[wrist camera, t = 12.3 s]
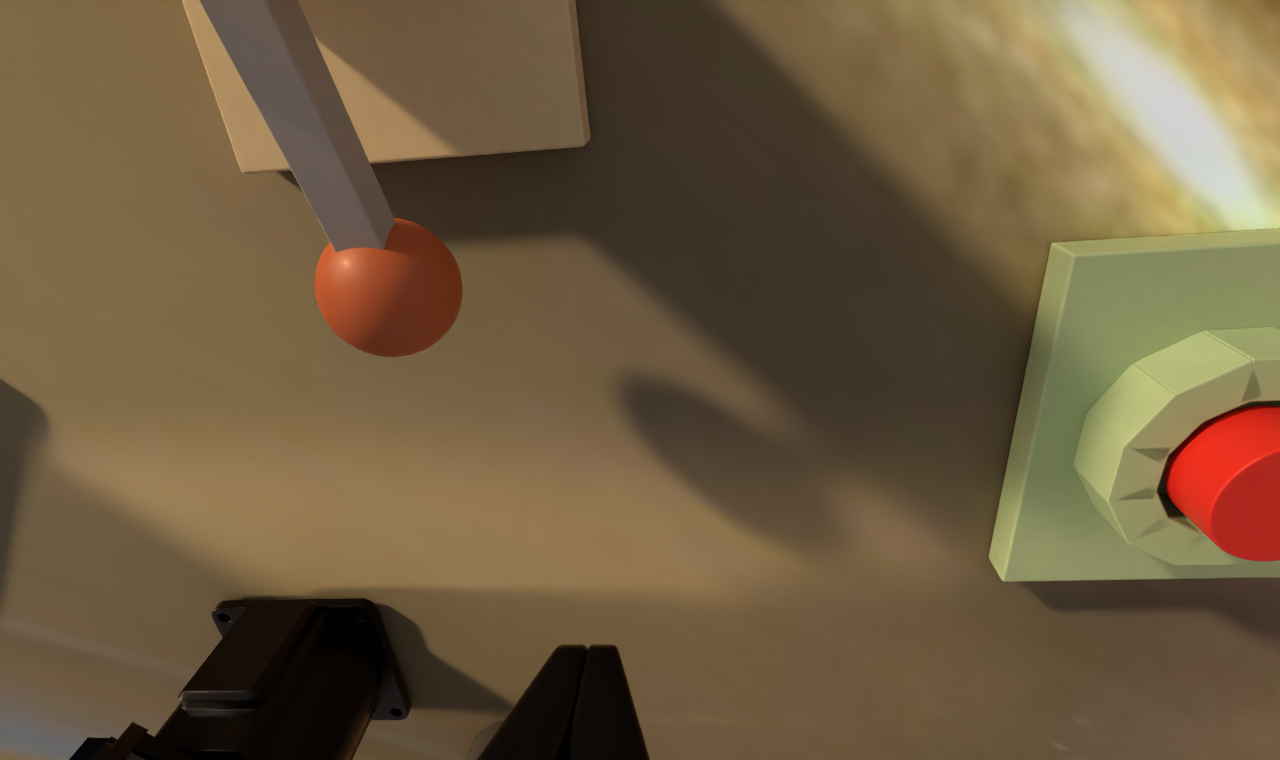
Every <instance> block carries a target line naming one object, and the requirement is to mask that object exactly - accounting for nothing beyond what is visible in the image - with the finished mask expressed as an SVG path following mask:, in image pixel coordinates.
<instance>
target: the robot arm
mask: <svg viewBox="0 0 1280 760" xmlns="http://www.w3.org/2000/svg"><path fill="white" fill-rule="evenodd" d="M212 618H213V620H214V622H215V624H216V626H217V628H218V630H219V632H220V634H221V635H222V637H223V638H222V640H221V641H220V642H219V643H218V645H217V646H216V647H215V649H214V650H213V651H212V652H211V654H210V655H209V656H208V658H207V659H206V660H205V661H204V663H203V664H202V665H201V667H200V668H199V669H198V670H197V672H196V673H195V674H194V676H193V677H192V678H191V680H190V681H189V682H188V683H187V685H186V686H185V687H184V689H183V690H182V691H181V692H180V694H179V696H178V699H179V701H180V704H179V705H178V707H177V708H176V709H175V711H174V712H173V713H172V714H171V716H170V717H169V718H168V720H167V721H166V722H165V724H164V725H163V726H162V728H161V729H160V730H159V731H158V733H157V734H156V735H155V737H154V736H152V735H150V734H148V733H146V732H147V731H148V729H146V728H144V727H142V726H140V725H138V724H136V723H134V722H132V723H131V724H130V725H129V726H128V728H127V729H126V730H125V731H124V732H123V733H122V735H121V736H120V737H119V738H118V739H115V738H113V737H110V738H90V737H88V738H87V739H86V740H85V742H84V743H83V744H82V745H81V746H80V747H79V749H78V750H77V751H76V752H75V753H74V754H73V756H72V757H71V758H70V759H69V760H352V759H353V757H354V755H355V753H356V751H357V748H358V746H359V744H360V742H361V740H362V738H363V735H364V733H365V731H366V729H367V727H368V725H369V723H370V720H403V719H405V718H407V716H408V714H409V712H410V709H411V707H412V704H411V701H410V698H409V695H408V693H407V690H406V687H405V684H404V681H403V679H402V676H401V673H400V670H399V668H398V665H397V662H396V659H395V656H394V654H393V651H392V648H391V645H390V643H389V640H388V637H387V634H386V632H385V629H384V626H383V623H382V620H381V618H380V615H379V612H378V609H377V607H376V606H375V604H374V603H373V602H371V601H369V600H367V599H361V598H359V599H294V600H229V601H222V602H220V603H219V604H218V605H217V606H216V608H215V609H214V610H213V611H212ZM476 760H650V759H649V756H648V752H647V749H646V745H645V742H644V738H643V735H642V731H641V728H640V724H639V721H638V717H637V714H636V710H635V707H634V703H633V700H632V696H631V693H630V689H629V686H628V682H627V679H626V675H625V672H624V668H623V665H622V661H621V658H620V654H619V651H618V648H617V647H616V646H615V645H591V646H589V648H587V647H586V646H585V645H569V644H564V645H560V646H558V647H557V648H556V649H555V650H554V652H553V653H552V654H551V656H550V657H549V659H548V660H547V661H546V663H545V664H544V666H543V667H542V668H541V670H540V671H539V673H538V674H537V675H536V677H535V678H534V680H533V681H532V682H531V684H530V685H529V687H528V688H527V689H526V691H525V692H524V694H523V695H522V696H521V698H520V699H519V701H518V702H517V703H516V705H515V706H514V708H513V709H512V710H511V712H510V713H509V715H508V716H507V717H506V719H505V720H504V722H503V723H502V724H501V726H500V727H499V729H498V730H497V731H496V733H495V734H494V736H493V737H492V738H491V740H490V741H489V743H488V744H487V745H486V747H485V748H484V750H483V751H482V752H481V754H480V755H479V757H478V758H477V759H476Z"/></svg>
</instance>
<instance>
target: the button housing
mask: <svg viewBox="0 0 1280 760" xmlns="http://www.w3.org/2000/svg"><path fill="white" fill-rule="evenodd" d="M1258 405H1275V406H1280V228H1277V229H1261V230H1245V231H1229V232H1213V233H1197V234H1181V235H1165V236H1149V237H1133V238H1117V239H1101V240H1085V241H1070V242H1055V243H1052V244H1051V247H1050V252H1049V257H1048V262H1047V267H1046V272H1045V277H1044V282H1043V287H1042V292H1041V297H1040V302H1039V307H1038V312H1037V317H1036V322H1035V327H1034V332H1033V337H1032V342H1031V347H1030V352H1029V357H1028V362H1027V367H1026V372H1025V377H1024V382H1023V387H1022V392H1021V397H1020V402H1019V407H1018V412H1017V417H1016V422H1015V427H1014V432H1013V437H1012V442H1011V447H1010V452H1009V457H1008V462H1007V467H1006V472H1005V477H1004V482H1003V487H1002V492H1001V497H1000V502H999V507H998V512H997V517H996V522H995V527H994V532H993V537H992V542H991V547H990V552H989V559H990V561H991V563H992V564H993V566H994V568H995V569H996V571H997V573H998V575H999V576H1000V578H1001V580H1002V581H1004V582H1018V581H1079V580H1141V579H1202V578H1263V577H1280V560H1279V561H1251V560H1246V559H1242V558H1238V557H1236V556H1233V555H1230V554H1228V553H1227V552H1225V551H1223V550H1222V549H1220V548H1219V547H1218V546H1217V545H1216V544H1215V543H1214V542H1213V541H1212V540H1211V539H1210V538H1208V537H1207V536H1206V535H1205V534H1204V533H1203V532H1202V531H1201V530H1200V529H1199V528H1198V527H1197V526H1196V525H1195V524H1194V523H1193V522H1192V521H1191V520H1190V519H1189V518H1188V517H1187V516H1185V515H1184V514H1183V513H1182V512H1181V511H1180V510H1179V509H1178V508H1177V507H1176V506H1175V505H1174V504H1173V502H1172V501H1171V500H1170V498H1169V496H1168V494H1167V491H1166V488H1165V472H1166V468H1167V465H1168V463H1169V460H1170V458H1171V456H1172V455H1173V453H1174V451H1175V450H1176V449H1177V447H1178V446H1179V445H1180V444H1181V443H1182V442H1183V441H1184V440H1185V439H1186V438H1187V437H1188V436H1189V435H1190V434H1191V433H1193V432H1194V431H1195V430H1196V429H1197V428H1199V427H1200V426H1201V425H1203V424H1205V423H1206V422H1208V421H1210V420H1211V419H1213V418H1216V417H1218V416H1220V415H1222V414H1225V413H1227V412H1230V411H1233V410H1236V409H1240V408H1244V407H1249V406H1258Z"/></svg>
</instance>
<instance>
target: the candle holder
mask: <svg viewBox="0 0 1280 760" xmlns="http://www.w3.org/2000/svg"><path fill="white" fill-rule="evenodd" d="M503 722H504V721H503ZM503 722H499V723H495V724H493V725H492V726H490V727H489V728H487V729H486V730H484V731H483V732H481V733H480V734H478V735H477V737H476V739H475V741H474V743H473V745H472V747H471V749H470V751H469V755H468V758H467V760H476V759H477V758H478V757H479V755H480V754H481V752H482V751H483V750H484V748H485V747H486V745H487V744H488V743H489V741H490V740H491V738H492V737H493V736H494V734H495V733H496V731H497V730H498V729H499V727H500V726H501V724H502V723H503Z"/></svg>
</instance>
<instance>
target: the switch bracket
mask: <svg viewBox="0 0 1280 760" xmlns="http://www.w3.org/2000/svg"><path fill="white" fill-rule="evenodd" d="M298 1H299V4H300V6H301V8H302V10H303V13H304V15H305V17H306V19H307V22H308V24H309V26H310V29H311V31H312V33H313V35H314V38H315V40H316V42H317V44H318V47H319V49H320V51H321V53H322V56H323V58H324V60H325V63H326V65H327V67H328V69H329V72H330V74H331V76H332V78H333V81H334V83H335V85H336V87H337V90H338V92H339V94H340V97H341V99H342V101H343V103H344V106H345V108H346V110H347V112H348V115H349V117H350V119H351V122H352V124H353V126H354V128H355V131H356V133H357V135H358V137H359V140H360V142H361V144H362V146H363V149H364V151H365V153H366V156H367V158H368V160H369V162H370V164H375V163H387V162H399V161H412V160H424V159H436V158H449V157H461V156H473V155H486V154H498V153H510V152H523V151H535V150H547V149H560V148H572V147H582V146H584V145H585V144H586V143H587V142H588V141H589V140H590V128H589V119H588V110H587V101H586V92H585V83H584V74H583V66H582V57H581V48H580V39H579V30H578V21H577V12H576V3H575V0H298ZM182 2H183V5H184V8H185V11H186V14H187V17H188V20H189V23H190V25H191V28H192V31H193V34H194V37H195V40H196V43H197V46H198V48H199V51H200V54H201V57H202V60H203V63H204V66H205V69H206V72H207V74H208V77H209V80H210V83H211V86H212V89H213V92H214V95H215V98H216V100H217V103H218V106H219V109H220V112H221V115H222V118H223V121H224V124H225V126H226V129H227V132H228V135H229V138H230V141H231V144H232V147H233V150H234V152H235V155H236V158H237V161H238V164H239V167H240V170H241V172H242V173H244V174H251V173H264V172H276V171H288V170H291V169H290V167H289V165H288V164H287V162H286V160H285V158H284V156H283V154H282V153H281V151H280V149H279V147H278V145H277V143H276V141H275V140H274V138H273V136H272V134H271V132H270V130H269V129H268V127H267V125H266V123H265V121H264V119H263V117H262V116H261V114H260V112H259V110H258V108H257V106H256V105H255V103H254V101H253V99H252V97H251V95H250V93H249V92H248V90H247V88H246V86H245V84H244V82H243V81H242V79H241V77H240V75H239V73H238V71H237V70H236V68H235V66H234V64H233V62H232V60H231V58H230V57H229V55H228V53H227V51H226V49H225V47H224V46H223V44H222V42H221V40H220V38H219V36H218V34H217V33H216V31H215V29H214V27H213V25H212V23H211V22H210V20H209V18H208V16H207V14H206V12H205V10H204V9H203V7H202V5H201V3H200V1H199V0H182Z"/></svg>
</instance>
